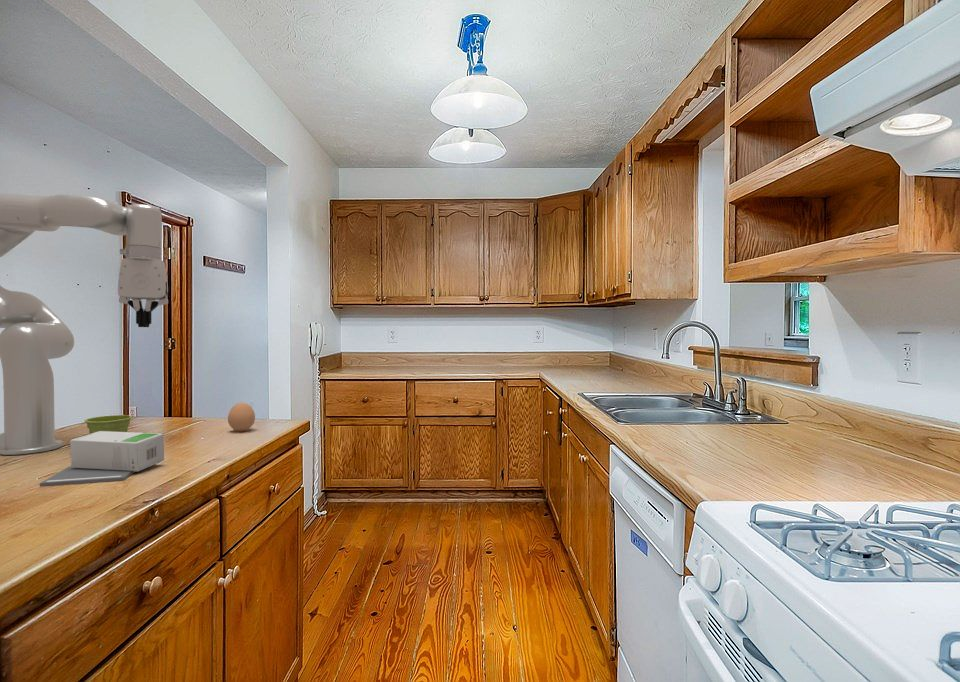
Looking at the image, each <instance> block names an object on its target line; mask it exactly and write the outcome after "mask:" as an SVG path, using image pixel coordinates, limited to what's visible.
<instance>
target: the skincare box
mask: <svg viewBox="0 0 960 682" xmlns="http://www.w3.org/2000/svg"><path fill="white" fill-rule="evenodd" d="M164 439H165V437H164V433H159V432H158V433H157V432H156V433H154V432H152V433H151V432H133V431H132V432H131V431H130V432H129V431H127V432H110V431H99V432H95V433H92V434H90V433H89V434H85V435H83V436H80V437H79V436H78V437H76V438H72V439H70V440H69V441H70V445H69V446H70V466H71V468H85V469H105V470H123V471H135V472H141V471H142V470H145V469H147V468H149V467H152V466H153V465H156V464H159V463H162V462H163V461H165V445H164Z"/></svg>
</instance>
